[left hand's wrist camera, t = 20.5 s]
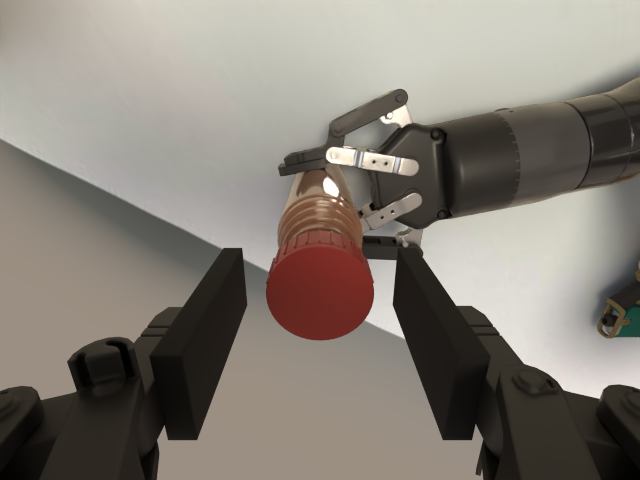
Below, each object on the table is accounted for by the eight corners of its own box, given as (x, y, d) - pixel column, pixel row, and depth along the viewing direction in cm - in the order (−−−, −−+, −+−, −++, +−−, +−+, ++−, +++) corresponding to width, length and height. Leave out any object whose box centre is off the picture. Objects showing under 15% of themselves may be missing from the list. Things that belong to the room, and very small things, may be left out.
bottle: (341, 152, 33) (376, 224, 13) (346, 200, 35) (383, 331, 14) (292, 158, 33) (249, 238, 13) (299, 206, 35) (271, 342, 14)
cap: (361, 320, 15) (366, 346, 14) (268, 312, 15) (262, 336, 14) (376, 234, 14) (384, 251, 12) (273, 223, 14) (267, 239, 12)
